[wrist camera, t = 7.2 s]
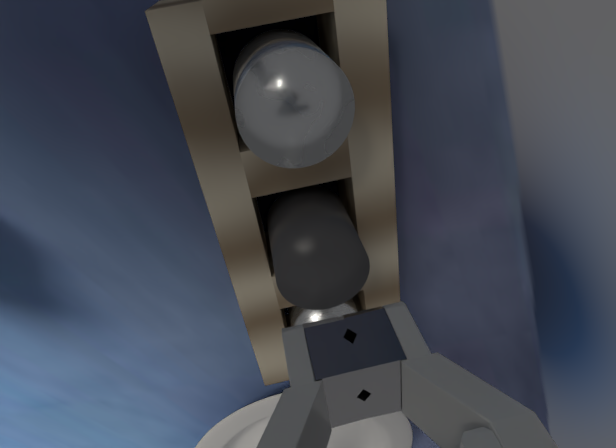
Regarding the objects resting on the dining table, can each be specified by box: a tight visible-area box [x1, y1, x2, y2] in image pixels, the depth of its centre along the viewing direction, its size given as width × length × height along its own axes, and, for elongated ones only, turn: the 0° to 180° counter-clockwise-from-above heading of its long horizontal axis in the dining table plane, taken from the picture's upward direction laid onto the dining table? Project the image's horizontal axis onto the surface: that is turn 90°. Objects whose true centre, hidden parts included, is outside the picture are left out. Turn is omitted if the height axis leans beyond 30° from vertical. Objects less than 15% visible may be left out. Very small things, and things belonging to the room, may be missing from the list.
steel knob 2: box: [288, 297, 358, 327], centre depth 30 cm, size 5×5×5 cm
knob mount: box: [145, 0, 400, 386], centre depth 26 cm, size 24×10×5 cm, turn 9°
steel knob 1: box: [233, 29, 355, 168], centre depth 19 cm, size 5×5×5 cm
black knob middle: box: [267, 185, 370, 310], centre depth 23 cm, size 5×5×5 cm
